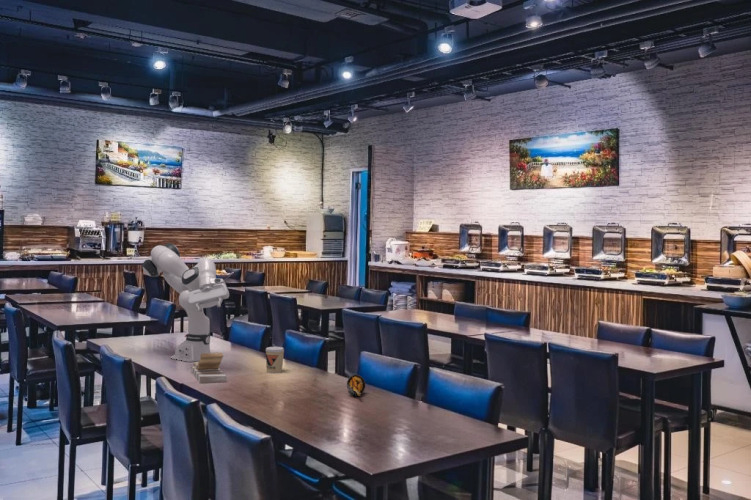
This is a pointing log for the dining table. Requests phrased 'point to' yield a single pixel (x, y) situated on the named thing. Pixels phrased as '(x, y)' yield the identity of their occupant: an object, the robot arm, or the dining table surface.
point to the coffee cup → (274, 359)
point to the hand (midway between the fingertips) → (209, 308)
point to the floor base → (208, 375)
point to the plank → (209, 361)
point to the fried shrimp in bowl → (355, 385)
